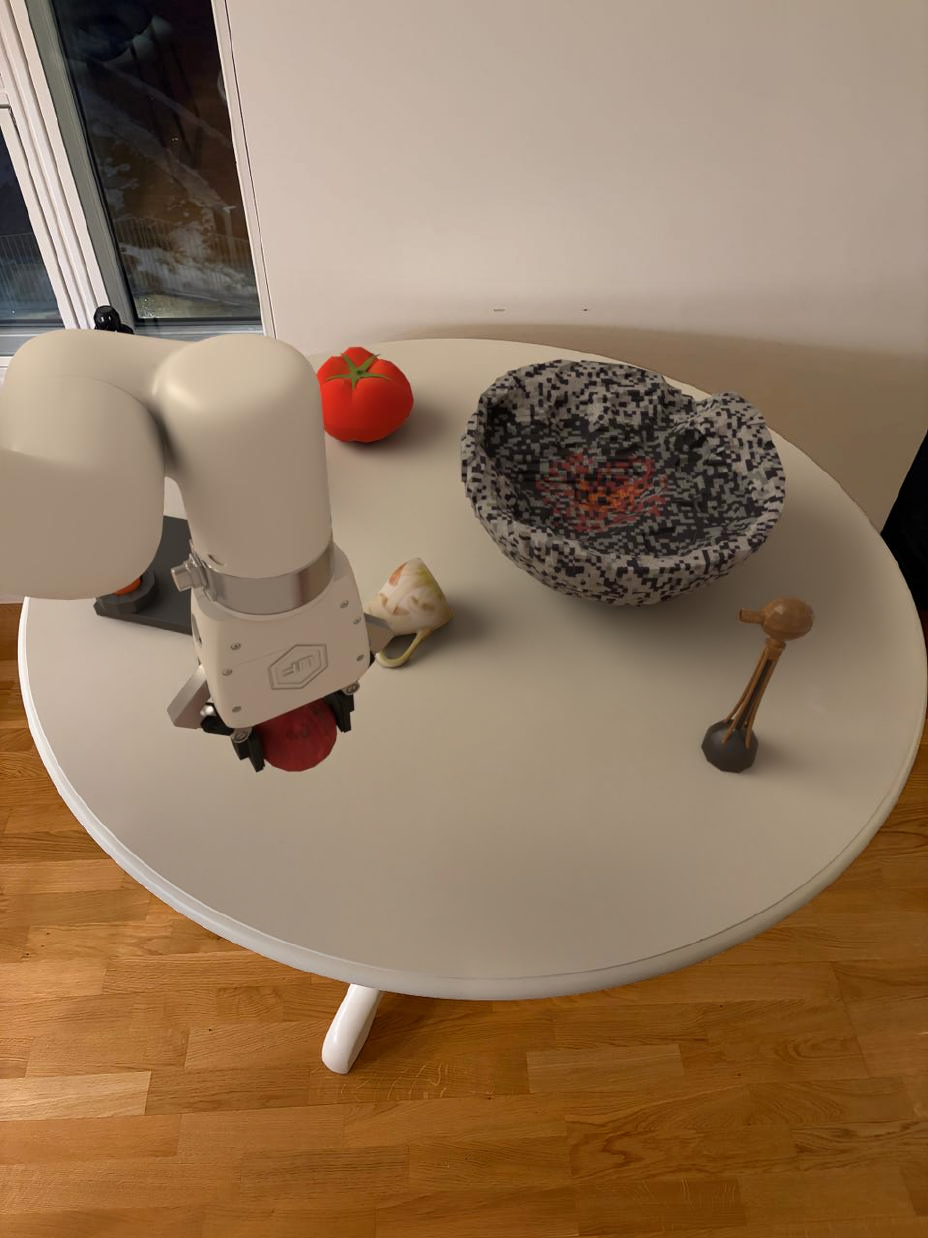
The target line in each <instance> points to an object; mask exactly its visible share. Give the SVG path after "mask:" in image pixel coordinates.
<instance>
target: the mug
mask: <svg viewBox="0 0 928 1238" xmlns="http://www.w3.org/2000/svg"><path fill="white" fill-rule="evenodd" d="M362 608H363V612H365V613H367V614H370V615H373V616H375V617H378V618H381V619H383V620H385V621H386V622H387V624H388V625H389V626H390V628H391V629H392V631H393V632H394V636H393V638H395V637H397V636H403V635H411V634H416V635H415V637H414V639H413V641H412V643H411V645H410V646H409V647H408V648H407V650H406V651H405V652H404V653H403V655H401V656H400V657H399V658H395V659H394V658H393V659H391V658H389V657H388V656H387V655H386V653H385V650H386V648H387V646H388V645H390V643H391V640H390V641H389V642H388V643H387V644H386V646H385V647H384V648H383V649H382V650H381V651H380V652H379V653H376V654H375V659H376V661H377V662H378V663H379V665H381V666H383V667H385V668H396V667H399V666H401V665H403V664H405V663H407V662H408V660H409V659H411V657H412V656H413V655H414V653H415V651H417V649H418V647H419V646H420V645H421V644H422V643H423V642H424V640H425V639H427V638H428V637H429V636H430V635H432V634H433V633H434V631H435V630H436V629H439V628H441V627H443V626H444V625H446V624H448V622H450V621H451V620H453V618H454V617H455V615H454V611H453V609H452V607H451V604H450V602H449V601H448V599H447V597H446V595H445V593H444V592H443V590H442V588H441V586H440V584H439V583H438V581H437V580H436V578H435V577H434V575H433V573H432V572H431V571H430V569H429V568H428V566H427V565H426V563H425V562H424V561H423V560H422V559H421V558H420V557H416V558H413V559H411V560H408V561H405V562H404V563H403V564H401V565H400V566H399V567H398V568H397V569H395V570H394V572H393V573H392V574H391V575H390V577H389V578H388V579H387V580H386V582H385V583H384V584H383V586H382V587H381V588H380V590H379V591H378V592H377V593H376V594H375V596H374V597H372V598H371V599H370V600H369V601H368V602H366V603H365V604H362Z"/></svg>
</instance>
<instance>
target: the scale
mask: <svg viewBox="0 0 928 1238" xmlns="http://www.w3.org/2000/svg"><path fill="white" fill-rule="evenodd" d="M191 539H192V536H191V532H190V528H189V524H188V520H187V518H186V519H185V518H181V517H176V516H170V515H165V514H163V526H162V536H161V540H160V544H159V546H158V549H157V552H156V554H155V557H154V559H153V561H152V562H151V564H150V565H149V566H148V568H147V569H146V570H145V572H144V573H143V574H142V575H141V576H140V577H139V578H140V585H139V587H138V588H137V589H136V590H135V591H133V592H132V593H130V594H125V595H117V594H114V593H112V594H108V595H104V596H100V597H96V598H95V600H96V601H95V602H94V604H93V609H94V611H95V614H96V615H97V616H100V617H105V618H110V619H115V620H119V621H123V622H129V623H133V624H136V625H137V624H138V625H141V626H142V625H143V626H147V627H151V628H157V629H161V630H166V631H170V632H174V633H178V634H184V635H187V636H188V635H190V636H193V633H192V621H191V590H192V588H189V589H186V590H183V591H179V590H178V588H177V586H176V584H175V581H174V579H173V576H172V573H171V569H172V568H174V567H177V566H180V565H183V562H184V561H187V560H189V554H191V553H192V550H191V546H190V542H189V540H191Z"/></svg>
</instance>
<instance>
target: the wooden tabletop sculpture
mask: <svg viewBox="0 0 928 1238" xmlns="http://www.w3.org/2000/svg"><path fill="white" fill-rule="evenodd" d="M815 620H816V616H815V613H814V611H813V608H812V606H811V605H810V604H809V603H808V602H807V601H806V600H802V599H801V598H798V597H792V596H787V597H786V596H785V597H784V596H782V597H779V598H775V599H774V600H772V601H771V602H769V603H768V604H766V605H765V606H764V607H763V609H762V610H759V609H751V608H740V609H739V611H738V623H745V624H752V625H753V624H754V625H760V628H761V629H762V631H763V632H764V634H766V635H767V636H768V637H766V638H765V642H764V647H763V649H762V652H761V654H760V656H759V658H758V661H757V663H756V665H755V668H754V670H753V672H752V674H751V676H750V678H749V681H748V682H747V685H746V687H745V689H744V691H743V692H742V694H741V696H740V698H739V699H738V702H737V703H736V705H735V706H734V707H733V709H732V710H731V712H730V713H729V714H728V715H727V716H726V717H725V718H723V719H721V720H720V721H717V722H716V723H714V724H712V725H710V726H709V727H708V728H707V730H706V733H705V734H704V737H703V740H702V743H701V746H700V748H701V751H702V752H703V755H704V757H705V759H706V762H708V763H709V764H711V765H712V766H714V767H715V768H716V769H718V770H719V771H721V772H727V773H735V774H740V773H741V772H743V771H746V770H747V769H750V768H752V766H753V764H754V762H755V759H756V756H757V752H758V750H759V741H758V738H757V736H756V734H755V732H754V730H753V726H754V723H755V720H756V716H757V713H758V711H759V707H760V704H761V701H762V698H763V697H764V694H765V691H766V689H767V687H768V684H769V682H770V681H771V678H772V676H773V673H774V671H775V669H776V667H777V665H778V663H779V660H780V658H781V656H782V654H783V652H784V651H785V650H786V648H787V643H786V642H791V641H796V640H799V639H801V638H803V637H805V636H806V635H807V634H808V633H809V632H810V631H812V628H813V626H814V623H815ZM734 716H735V717H734ZM733 717H734V718H733Z"/></svg>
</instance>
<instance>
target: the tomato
mask: <svg viewBox="0 0 928 1238" xmlns="http://www.w3.org/2000/svg"><path fill="white" fill-rule="evenodd" d="M381 355H382V353H379V354H375V353H374V352H371V351H369V350H367V349H366V348H364V347H362V346H349V347H348V348H347V349H346V350H345V351H343V352H340V355H339V356H338V355H335V356H334V355H333V356H332V355H331V356H330V357H329V358H328V359H327V360H326V361H325V362H323V364H322V365H321V366H320V367H319V368H318V370H317V372H316V375H317V378H318V381H319V385H320V392H321V399H322V412H323V424H324V432H325V433H326V434H328V435H329V436H330V437H332V438H334V439H336V440H337V441H340V442H342V443H347V442H352V441H357V442H360V443H361V442H362V443H372V442H375V441H380V440H383V438H385V437H388V435H391V434H392V433H394V432H396V431H397V430H398V429H399V428H400V427H401V426H402V425H404V423H406V421H407V419H408V418H409V416H410V415H411V413H412V411H413V408H414V401H415V400H414V399H415V398H414V395H413V390H412V386H411V382H410V381H409V379H408V378H407V377H406V374H405V373H404V372H402V370H401V369H400V367H398V366H397V365H396V364H395V363H393V362H392V361H391V360H387V359H383V358H378V357H379V356H381Z"/></svg>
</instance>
